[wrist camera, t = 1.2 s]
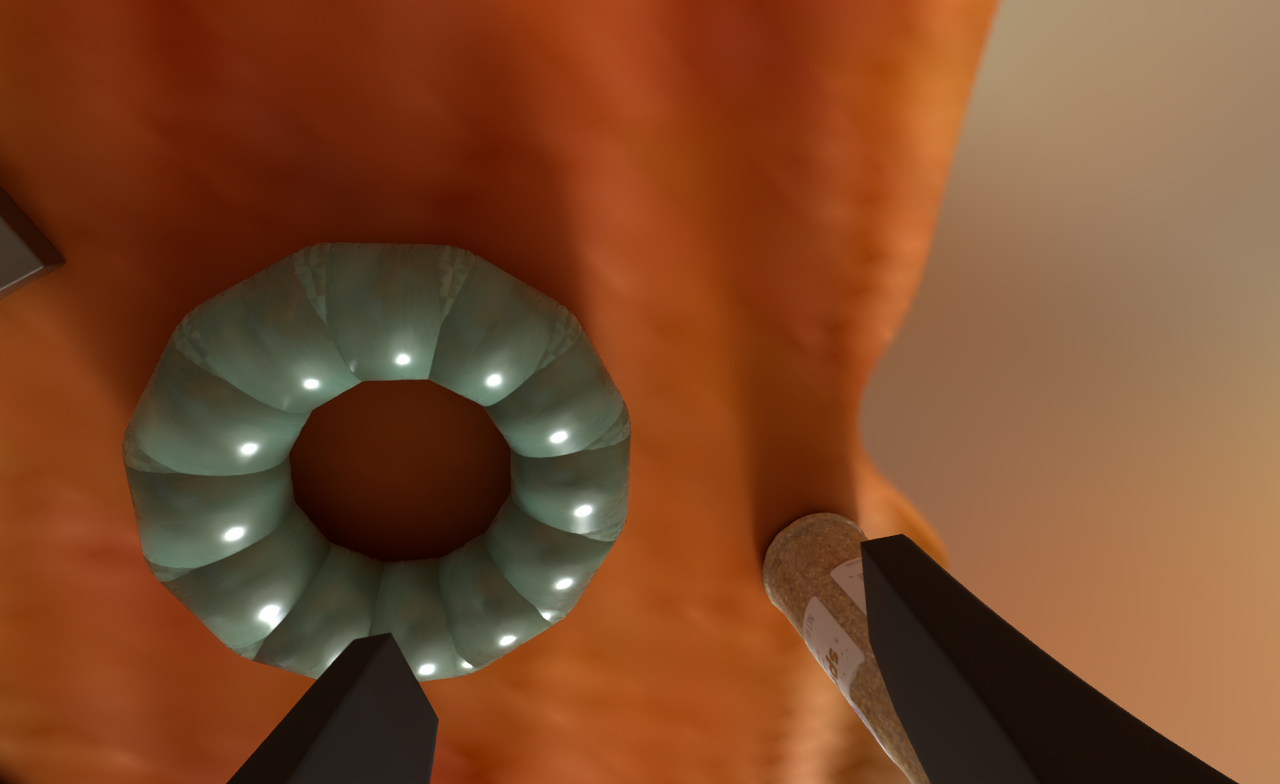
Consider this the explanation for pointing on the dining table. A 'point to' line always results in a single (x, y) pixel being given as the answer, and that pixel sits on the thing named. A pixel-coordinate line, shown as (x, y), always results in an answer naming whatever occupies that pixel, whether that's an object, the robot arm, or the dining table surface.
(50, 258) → the holder
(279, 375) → the ring
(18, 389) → the dining table surface
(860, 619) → the sprinkles bottle
